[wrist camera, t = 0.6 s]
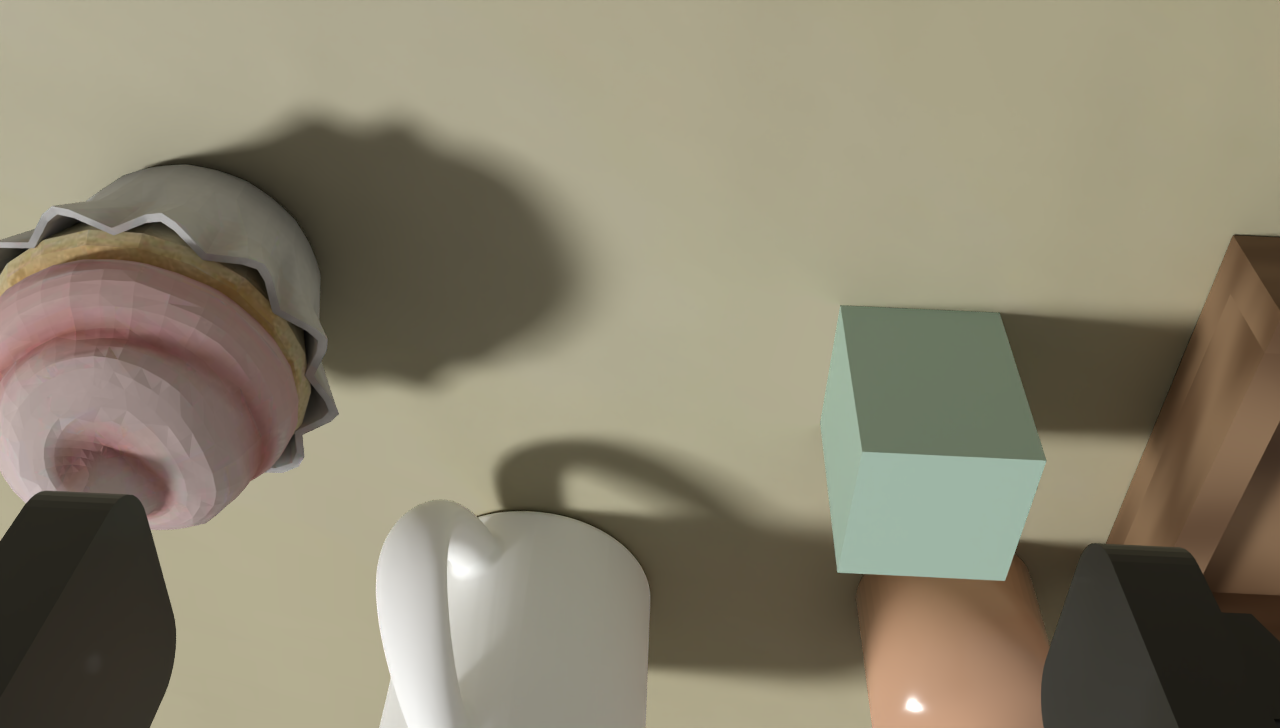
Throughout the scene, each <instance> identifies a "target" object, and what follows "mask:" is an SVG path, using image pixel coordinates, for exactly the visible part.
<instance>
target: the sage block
mask: <svg viewBox="0 0 1280 728" xmlns="http://www.w3.org/2000/svg"><path fill="white" fill-rule="evenodd" d="M820 425H821V434H822V442H823V451H824V460H825V469H826V477H827V486H828V495H829V504H830V512H831V521H832V530H833V539H834V547H835V556H836V565H837V573H856V574H876V575H896V576H916V577H936V578H957V579H977V580H997V581H1005V580H1006V577H1007V574H1008V571H1009V568H1010V565H1011V562H1012V559H1013V556H1014V554H1015V551H1016V548H1017V545H1018V542H1019V539H1020V536H1021V533H1022V530H1023V527H1024V524H1025V522H1026V519H1027V516H1028V513H1029V510H1030V507H1031V504H1032V501H1033V498H1034V495H1035V492H1036V490H1037V487H1038V484H1039V481H1040V478H1041V475H1042V472H1043V469H1044V466H1045V463H1046V458H1045V455H1044V451H1043V448H1042V445H1041V442H1040V439H1039V436H1038V433H1037V429H1036V426H1035V423H1034V420H1033V417H1032V414H1031V410H1030V407H1029V404H1028V401H1027V398H1026V395H1025V392H1024V388H1023V385H1022V382H1021V379H1020V376H1019V373H1018V369H1017V366H1016V363H1015V360H1014V357H1013V354H1012V351H1011V347H1010V344H1009V341H1008V338H1007V335H1006V332H1005V328H1004V325H1003V322H1002V319H1001V316H1000V313H994V312H972V311H950V310H929V309H907V308H885V307H864V306H842V305H840V310H839V316H838V322H837V328H836V334H835V340H834V345H833V351H832V357H831V363H830V369H829V375H828V380H827V386H826V392H825V398H824V404H823V410H822V416H821V421H820Z"/></svg>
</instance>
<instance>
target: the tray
mask: <svg viewBox="0 0 1280 728" xmlns="http://www.w3.org/2000/svg"><path fill="white" fill-rule="evenodd" d="M1106 544H1120V545H1141V546H1163V547H1181V548H1184V549H1186V550H1187V551H1188V552H1190V553H1191V554H1192V556H1193V557H1194V558H1195V560H1196V562H1197V563H1198V565H1199V567H1200V569H1201V571H1202V573H1203V575H1204V577H1205V579H1206V581H1207V583H1208V585H1209V588H1210V590H1211V592H1212V594H1213V596H1214V598H1215V600H1216V602H1217V604H1218V606H1219V608H1220V610H1221V612H1225V613H1246V614H1252V615H1253V616H1254V617H1255V618H1256V619H1257V620H1258V621H1259V622H1260V623H1261V624H1262V625H1263V626H1264V627H1265V628H1266V629H1267V630H1268V631H1269V632H1271V633H1272V634H1273V635H1274V636H1275V637H1276V638H1277V639H1278V640H1279V641H1280V237H1259V236H1237V235H1233V237H1232V239H1231V242H1230V244H1229V246H1228V249H1227V251H1226V254H1225V256H1224V259H1223V261H1222V263H1221V266H1220V268H1219V271H1218V273H1217V276H1216V278H1215V280H1214V283H1213V285H1212V288H1211V290H1210V292H1209V295H1208V297H1207V300H1206V302H1205V305H1204V307H1203V309H1202V312H1201V314H1200V317H1199V319H1198V322H1197V324H1196V326H1195V329H1194V331H1193V334H1192V336H1191V339H1190V341H1189V343H1188V346H1187V348H1186V351H1185V353H1184V356H1183V358H1182V360H1181V363H1180V365H1179V368H1178V370H1177V372H1176V375H1175V377H1174V380H1173V382H1172V385H1171V387H1170V389H1169V392H1168V394H1167V397H1166V399H1165V402H1164V404H1163V406H1162V409H1161V411H1160V414H1159V416H1158V419H1157V421H1156V423H1155V426H1154V428H1153V431H1152V433H1151V436H1150V438H1149V440H1148V443H1147V445H1146V448H1145V450H1144V452H1143V455H1142V457H1141V460H1140V462H1139V465H1138V467H1137V469H1136V472H1135V474H1134V477H1133V479H1132V482H1131V484H1130V486H1129V489H1128V491H1127V494H1126V496H1125V499H1124V501H1123V503H1122V506H1121V508H1120V511H1119V513H1118V516H1117V518H1116V520H1115V523H1114V525H1113V528H1112V530H1111V533H1110V535H1109V537H1108V540H1107V542H1106Z"/></svg>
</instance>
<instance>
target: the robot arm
mask: <svg viewBox="0 0 1280 728" xmlns="http://www.w3.org/2000/svg"><path fill="white" fill-rule="evenodd" d="M175 649H176V627H175V619H174V614H173V611H172V607H171V603H170V600H169V596H168V592H167V589H166V585H165V581H164V578H163V574H162V570H161V567H160V563H159V559H158V555H157V552H156V548H155V544H154V541H153V537H152V533H151V530H150V526H149V522H148V519H147V515H146V512H145V509H144V507H143V505H142V503H141V501H140V500H139V499H138V498H137V497H135V496H134V495H129V494H109V493H88V492H67V491H41V492H39V493H37V494H35V495H34V496H33V497H32V498H30V499H29V501H28V502H27V503H26V504H25V506H24V507H23V508H22V510H21V511H20V513H19V514H18V516H17V517H16V519H15V520H14V522H13V523H12V525H11V526H10V528H9V529H8V531H7V532H6V534H5V535H4V537H3V538H2V540H1V541H0V728H150V726H151V723H152V721H153V719H154V717H155V714H156V712H157V710H158V708H159V706H160V703H161V701H162V699H163V697H164V694H165V692H166V689H167V687H168V684H169V680H170V677H171V673H172V669H173V664H174V658H175ZM1041 711H1042V720H1043V727H1044V728H1280V641H1279V640H1278V639H1277V638H1276V637H1275V636H1274V635H1273V634H1272V633H1271V632H1269V631H1268V630H1267V629H1266V628H1265V627H1264V626H1263V625H1262V624H1261V623H1260V622H1259V621H1258V620H1257V619H1256V618H1255V617H1254V616H1253V615H1252V614H1246V613H1225V612H1221V610H1220V608H1219V606H1218V604H1217V602H1216V600H1215V598H1214V596H1213V594H1212V592H1211V590H1210V588H1209V585H1208V583H1207V581H1206V579H1205V577H1204V575H1203V573H1202V571H1201V569H1200V567H1199V565H1198V563H1197V562H1196V560H1195V558H1194V557H1193V556H1192V554H1191V553H1190V552H1188V551H1187V550H1186V549H1184V548H1181V547H1163V546H1141V545H1120V544H1099V543H1093V544H1090V545H1088V546H1087V547H1086V548H1085V550H1084V551H1083V553H1082V555H1081V557H1080V559H1079V562H1078V565H1077V568H1076V571H1075V574H1074V577H1073V580H1072V583H1071V586H1070V589H1069V592H1068V595H1067V598H1066V601H1065V604H1064V607H1063V609H1062V612H1061V615H1060V618H1059V621H1058V624H1057V627H1056V630H1055V633H1054V636H1053V639H1052V642H1051V645H1050V648H1049V651H1048V654H1047V657H1046V660H1045V664H1044V668H1043V674H1042V682H1041Z"/></svg>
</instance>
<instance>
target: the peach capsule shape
mask: <svg viewBox="0 0 1280 728" xmlns="http://www.w3.org/2000/svg"><path fill="white" fill-rule="evenodd" d="M856 604H857V612H858V620H859V628H860V636H861V643H862V651H863V659H864V666H865V674H866V682H867V690H868V697H869V705H870V713H871V721H872V728H1044V727H1043V720H1042V711H1041V682H1042V674H1043V668H1044V664H1045V660H1046V657H1047V654H1048V651H1049V648H1050V644H1049V640H1048V637H1047V633H1046V630H1045V626H1044V622H1043V619H1042V615H1041V612H1040V608H1039V604H1038V601H1037V597H1036V593H1035V590H1034V586H1033V583H1032V579H1031V576H1030V573H1029V570H1028V568H1027V567H1026V565H1025V564H1024V562H1023V561H1022V560H1021V559H1020V558H1019V557H1018V556H1017V555H1016V554H1014V556H1013V559H1012V562H1011V565H1010V568H1009V571H1008V574H1007V577H1006V580H1005V581H997V580H977V579H957V578H936V577H916V576H896V575H876V574H864V575H863V577H862V579H861V580H860V582H859V585H858V588H857V593H856Z"/></svg>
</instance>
